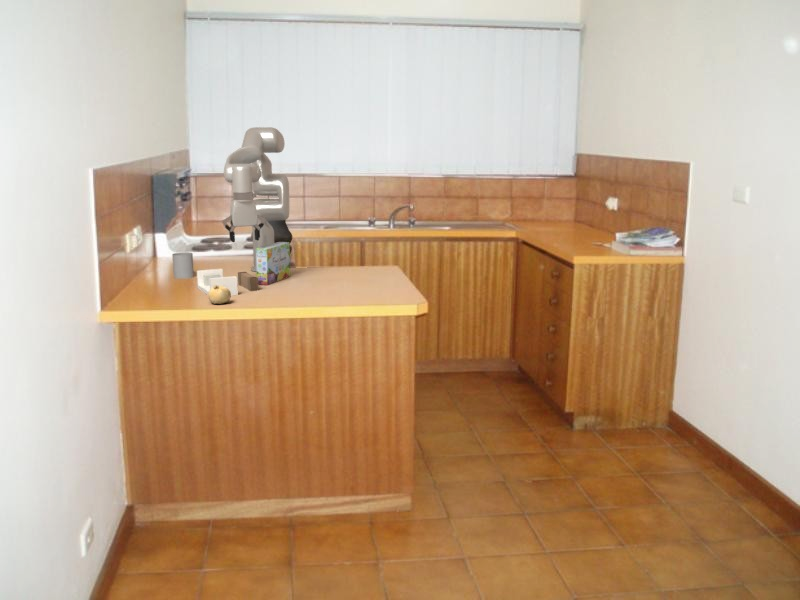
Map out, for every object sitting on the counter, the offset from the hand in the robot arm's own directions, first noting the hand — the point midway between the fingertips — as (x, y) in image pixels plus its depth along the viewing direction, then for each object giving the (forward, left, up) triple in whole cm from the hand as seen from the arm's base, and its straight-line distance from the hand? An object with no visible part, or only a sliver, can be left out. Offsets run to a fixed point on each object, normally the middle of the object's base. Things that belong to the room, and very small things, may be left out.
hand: (245, 240), depth 306 cm
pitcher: (-37, -76, -19) cm, 86 cm away
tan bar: (0, 0, -19) cm, 19 cm away
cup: (+17, -36, -19) cm, 44 cm away
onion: (+18, +24, -19) cm, 35 cm away
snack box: (-14, -9, -19) cm, 25 cm away
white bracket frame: (+13, +2, -19) cm, 23 cm away
